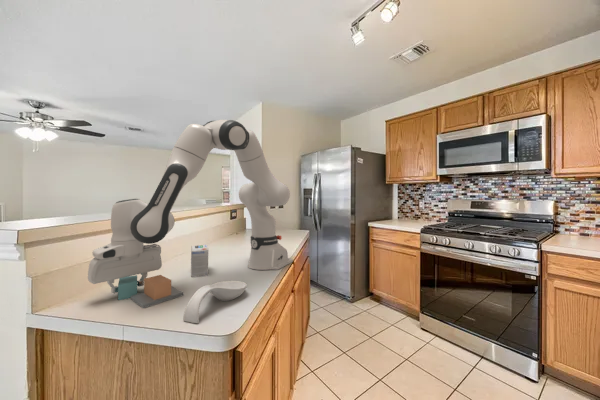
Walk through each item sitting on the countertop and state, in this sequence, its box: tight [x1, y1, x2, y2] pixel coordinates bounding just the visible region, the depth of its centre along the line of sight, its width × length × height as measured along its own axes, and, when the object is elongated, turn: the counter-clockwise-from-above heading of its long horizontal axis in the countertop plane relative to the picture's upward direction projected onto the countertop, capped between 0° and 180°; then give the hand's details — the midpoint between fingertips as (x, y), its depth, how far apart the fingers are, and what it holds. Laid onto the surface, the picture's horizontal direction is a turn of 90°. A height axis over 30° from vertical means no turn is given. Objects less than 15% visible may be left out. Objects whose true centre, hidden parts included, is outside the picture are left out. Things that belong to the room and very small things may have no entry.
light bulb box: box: [190, 244, 209, 278], centre depth 105 cm, size 11×7×11 cm, turn 23°
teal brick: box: [117, 274, 138, 301], centre depth 82 cm, size 5×8×5 cm, turn 34°
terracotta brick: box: [143, 274, 172, 300], centre depth 80 cm, size 5×8×5 cm, turn 52°
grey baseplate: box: [129, 285, 185, 309], centre depth 80 cm, size 12×10×1 cm
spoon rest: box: [182, 280, 248, 324], centre depth 75 cm, size 24×12×7 cm, turn 164°
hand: (128, 289), depth 82 cm, fingers closed on teal brick, 6 cm apart
